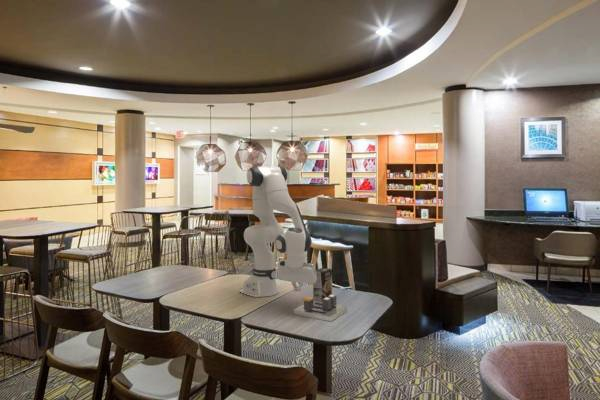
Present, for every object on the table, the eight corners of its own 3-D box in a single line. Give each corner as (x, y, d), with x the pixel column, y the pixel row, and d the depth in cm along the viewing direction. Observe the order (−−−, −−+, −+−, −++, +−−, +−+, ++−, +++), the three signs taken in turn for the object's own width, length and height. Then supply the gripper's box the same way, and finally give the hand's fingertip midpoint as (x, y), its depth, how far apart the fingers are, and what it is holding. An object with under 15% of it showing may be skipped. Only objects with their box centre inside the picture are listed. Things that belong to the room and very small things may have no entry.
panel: (293, 313, 180) (293, 309, 180) (311, 304, 193) (310, 300, 193) (331, 321, 169) (331, 316, 169) (346, 310, 183) (346, 306, 183)
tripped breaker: (303, 309, 178) (303, 299, 178) (307, 307, 181) (307, 297, 181) (309, 310, 176) (309, 300, 176) (313, 308, 180) (313, 298, 179)
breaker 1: (322, 309, 179) (322, 298, 178) (326, 306, 182) (325, 296, 181) (328, 310, 177) (327, 299, 177) (331, 307, 180) (331, 297, 180)
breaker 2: (327, 305, 183) (327, 296, 183) (330, 303, 186) (330, 294, 186) (332, 306, 181) (332, 297, 181) (336, 304, 184) (336, 295, 184)
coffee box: (323, 303, 194) (322, 272, 193) (312, 301, 198) (312, 270, 197) (332, 298, 202) (332, 268, 201) (322, 296, 205) (322, 267, 205)
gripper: (318, 262, 178) (319, 291, 178) (282, 259, 189) (283, 287, 189) (311, 265, 173) (312, 295, 173) (275, 261, 184) (276, 290, 184)
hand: (297, 291), depth 181 cm, fingers closed
